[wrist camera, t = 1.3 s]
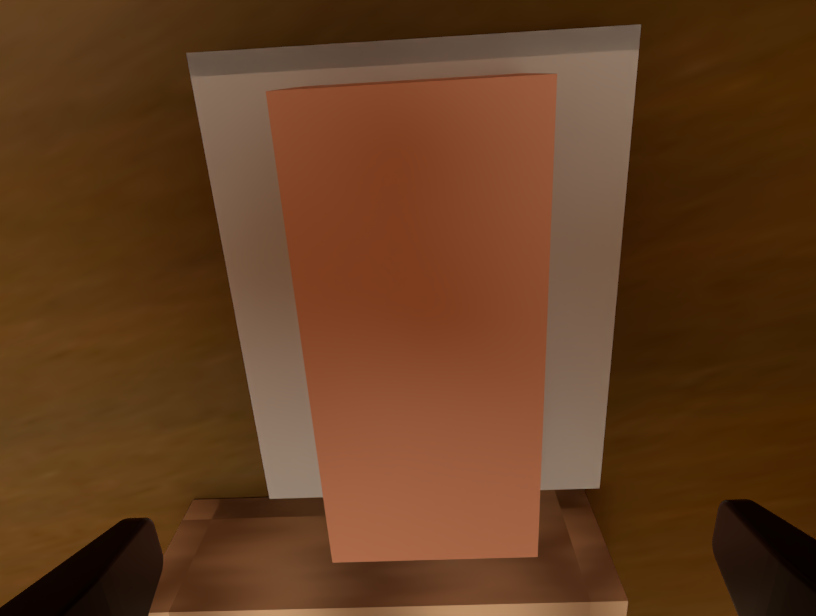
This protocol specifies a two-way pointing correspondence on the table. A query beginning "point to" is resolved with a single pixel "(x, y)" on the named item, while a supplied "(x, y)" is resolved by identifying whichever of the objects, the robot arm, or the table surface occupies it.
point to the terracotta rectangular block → (422, 305)
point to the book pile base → (570, 221)
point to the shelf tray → (376, 568)
